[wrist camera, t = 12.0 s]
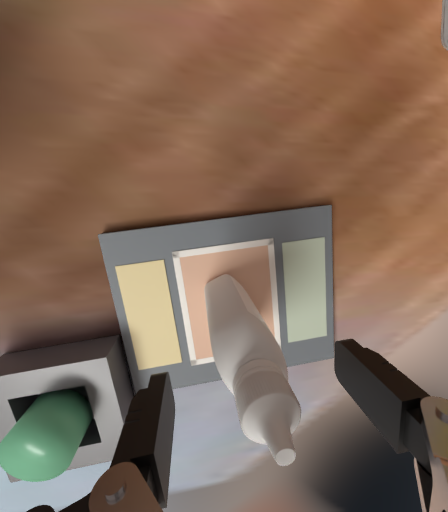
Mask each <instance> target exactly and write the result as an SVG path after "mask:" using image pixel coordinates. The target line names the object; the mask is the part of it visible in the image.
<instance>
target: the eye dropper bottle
mask: <svg viewBox="0 0 448 512" xmlns="http://www.w3.org/2000/svg"><path fill="white" fill-rule="evenodd" d="M204 294H205V303H206V311H207V319H208V328H209V335H210V342H211V348H212V353H213V357H214V361H215V364H216V367H217V369H218V372H219V374H220V376H221V378H222V380H223V381H224V383H225V384H226V386H227V387H228V389H229V390H230V391H231V392H232V393H233V394H234V397H235V402H236V406H237V411H238V416H239V421H240V425H241V429H242V431H243V432H244V434H245V435H246V436H247V437H248V438H249V439H251V440H252V441H254V442H257V443H261V444H267V446H268V448H269V450H270V451H271V453H272V455H273V457H274V459H275V461H276V463H277V464H278V465H281V466H286V465H289V464H291V463H292V462H293V461H294V460H295V458H296V453H295V448H294V444H293V440H292V435H291V434H292V433H293V432H294V430H295V429H296V428H297V426H298V424H299V421H300V418H301V409H300V408H301V407H300V404H299V402H298V400H297V398H296V396H295V394H294V393H293V391H292V389H291V387H290V385H289V383H288V371H287V365H286V361H285V358H284V355H283V353H282V350H281V348H280V346H279V344H278V343H277V341H276V339H275V337H274V336H273V334H272V332H271V331H270V329H269V328H268V326H267V324H266V323H265V321H264V319H263V318H262V316H261V314H260V313H259V311H258V310H257V308H256V306H255V305H254V303H253V301H252V300H251V298H250V297H249V295H248V293H247V292H246V290H245V289H244V288H243V287H242V285H241V284H240V283H239V282H238V281H237V280H236V279H234V278H233V277H232V276H230V275H228V274H224V275H221V276H219V277H217V278H215V279H213V280H211V281H210V282H208V283H207V284H206V285H205V288H204Z"/></svg>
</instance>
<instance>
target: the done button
mask: <svg viewBox="0 0 448 512" xmlns="http://www.w3.org/2000/svg"><path fill="white" fill-rule="evenodd" d="M92 417H93V411H92V408H91V404H90V402H89V401H88V400H87V399H86V398H85V397H84V396H83V395H81V394H80V393H78V392H75V391H72V390H68V389H62V390H57V391H51V392H46V393H43V394H42V395H40V396H39V397H38V398H37V399H36V400H35V401H34V402H33V403H32V405H31V406H30V407H29V408H28V409H27V411H26V412H25V413H24V414H23V415H22V417H21V418H20V419H19V420H18V422H17V423H16V424H15V425H14V426H13V428H12V429H11V430H10V431H9V432H8V434H7V435H6V436H5V437H4V438H3V440H2V441H1V443H0V465H1V467H2V468H3V469H4V470H5V471H6V472H7V473H8V474H10V475H11V476H13V477H15V478H17V479H21V480H24V481H31V482H39V481H46V480H50V479H53V478H55V477H57V476H59V475H60V474H62V473H63V472H64V471H66V469H67V468H68V467H69V466H70V464H71V462H72V460H73V458H74V456H75V454H76V452H77V450H78V447H79V445H80V443H81V441H82V439H83V437H84V435H85V433H86V431H87V429H88V427H89V425H90V423H91V420H92Z"/></svg>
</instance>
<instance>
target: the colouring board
mask: <svg viewBox="0 0 448 512" xmlns="http://www.w3.org/2000/svg"><path fill="white" fill-rule="evenodd" d="M98 238H99V242H100V246H101V250H102V254H103V258H104V263H105V267H106V271H107V275H108V279H109V284H110V288H111V292H112V296H113V300H114V305H115V309H116V313H117V317H118V321H119V326H120V330H121V334H122V338H123V342H124V347H125V351H126V355H127V359H128V363H129V368H130V372H131V376H132V380H133V384H134V389H135V393H137V392H138V391H139V390H140V389H145V388H148V384H149V380H150V376H151V375H152V374H157V373H163V372H169V376H170V381H171V386H172V389H176V388H182V387H187V386H192V385H197V384H202V383H207V382H213V381H218V380H222V378H221V376H220V374H219V372H218V369H217V367H216V364H215V361H214V357H213V353H212V348H211V342H210V335H209V328H208V319H207V311H206V303H205V294H204V288H205V285H206V284H207V283H208V282H210V281H211V280H213V279H215V278H217V277H219V276H221V275H224V274H228V275H230V276H232V277H233V278H234V279H236V280H237V281H238V282H239V283H240V284H241V285H242V287H243V288H244V289H245V290H246V292H247V293H248V295H249V297H250V298H251V300H252V301H253V303H254V305H255V306H256V308H257V310H258V311H259V313H260V314H261V316H262V318H263V319H264V321H265V323H266V324H267V326H268V328H269V329H270V331H271V332H272V334H273V336H274V337H275V339H276V341H277V343H278V344H279V346H280V348H281V350H282V353H283V355H284V358H285V361H286V365H287V367H290V366H295V365H300V364H305V363H310V362H316V361H321V360H326V359H331V358H334V328H333V261H332V205H323V206H315V207H307V208H299V209H291V210H283V211H275V212H267V213H259V214H251V215H244V216H236V217H228V218H220V219H212V220H204V221H196V222H188V223H180V224H173V225H165V226H157V227H149V228H141V229H133V230H125V231H117V232H109V233H102V234H98Z"/></svg>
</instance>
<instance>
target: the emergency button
mask: <svg viewBox="0 0 448 512" xmlns="http://www.w3.org/2000/svg"><path fill="white" fill-rule="evenodd" d="M441 41H442V46H443V47H444V48H445V49H446V50H448V0H442V24H441Z"/></svg>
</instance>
